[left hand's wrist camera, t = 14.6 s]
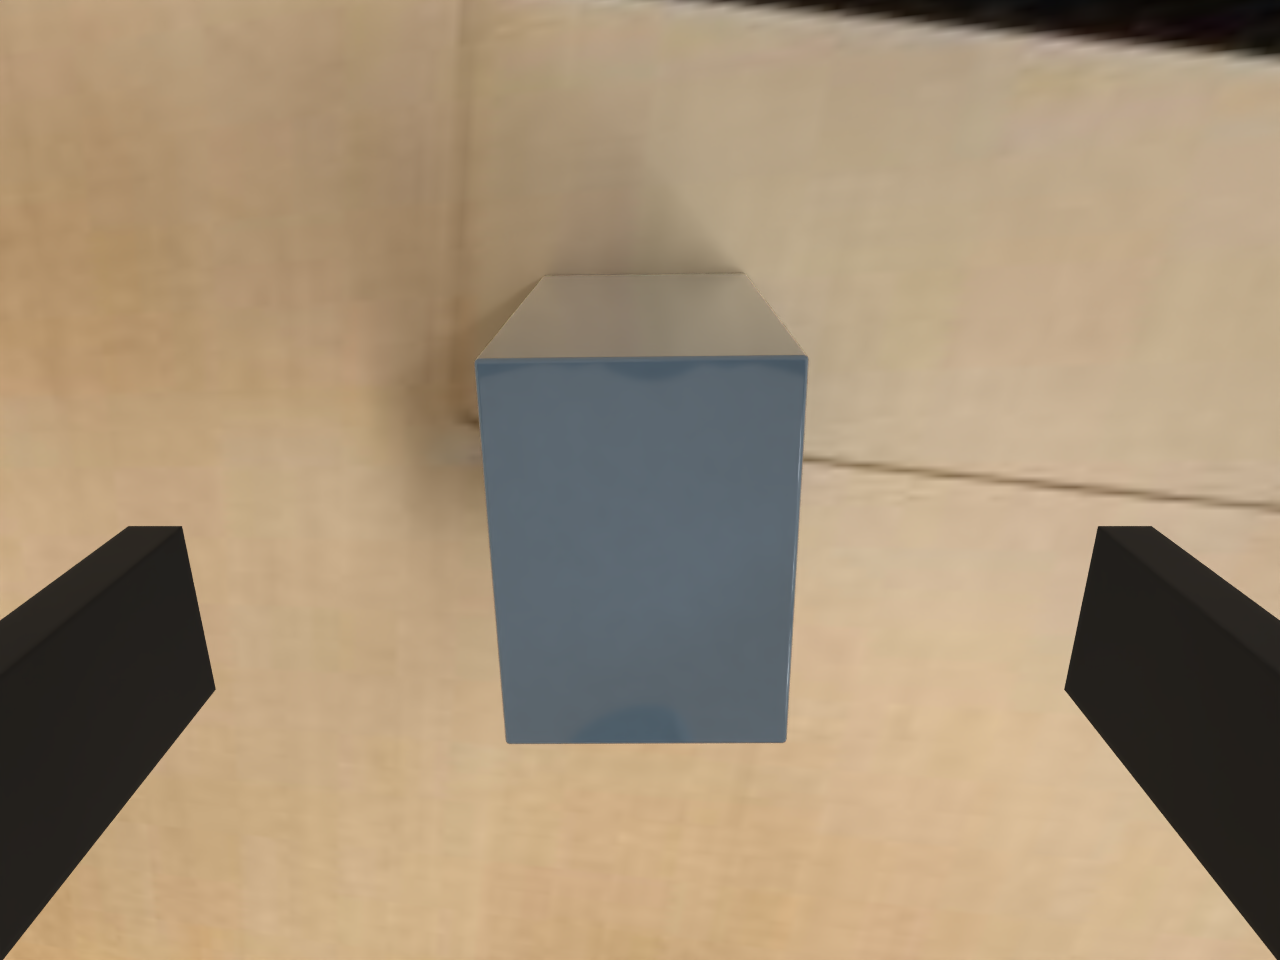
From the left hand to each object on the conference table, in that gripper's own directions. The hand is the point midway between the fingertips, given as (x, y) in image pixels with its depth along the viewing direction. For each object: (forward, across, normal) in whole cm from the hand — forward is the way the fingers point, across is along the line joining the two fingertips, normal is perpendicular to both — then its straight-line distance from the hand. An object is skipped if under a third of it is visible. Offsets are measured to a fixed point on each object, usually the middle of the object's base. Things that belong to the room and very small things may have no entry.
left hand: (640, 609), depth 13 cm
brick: (+16, 0, -2) cm, 16 cm away
